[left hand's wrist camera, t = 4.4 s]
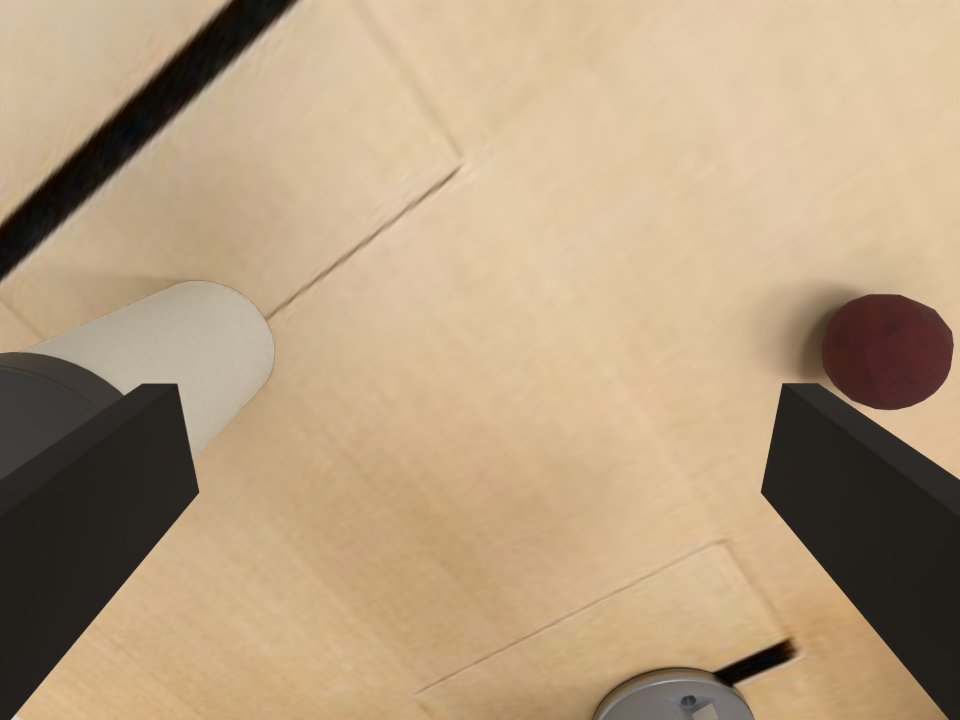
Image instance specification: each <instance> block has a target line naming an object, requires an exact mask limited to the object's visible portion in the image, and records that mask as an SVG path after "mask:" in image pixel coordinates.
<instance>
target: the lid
mask: <svg viewBox="0 0 960 720" xmlns="http://www.w3.org/2000/svg"><path fill="white" fill-rule="evenodd" d="M123 396H124V395H123V394H122V393H121V392H120V391H119V390H118V389H116V388H115V387H114V386H113V385H111V384H110V383H109V382H107V381H106V380H104V379H103V378H101V377H100V376H98V375H96V374H95V373H93V372H91V371H90V370H88V369H85V368H83V367H81V366H79V365H77V364H75V363H72V362H69V361H66V360H63V359H61V358H57V357H53V356H48V355H44V354H37V353H29V352H9V353H0V480H1V479H2V478H4V477H5V476H7V475H8V474H10V473H11V472H13V471H14V470H15V469H17V468H18V467H20V466H21V465H23V464H24V463H26V462H27V461H29V460H30V459H32V458H33V457H35V456H36V455H38V454H39V453H40V452H42V451H43V450H45V449H46V448H48V447H49V446H51V445H52V444H54V443H55V442H57V441H58V440H60V439H61V438H63V437H64V436H65V435H67V434H68V433H70V432H71V431H73V430H74V429H76V428H77V427H79V426H80V425H82V424H83V423H85V422H86V421H88V420H89V419H91V418H92V417H93V416H95V415H96V414H98V413H99V412H101V411H102V410H104V409H105V408H107V407H108V406H110V405H111V404H113V403H114V402H116V401H117V400H118V399H120V398H121V397H123Z"/></svg>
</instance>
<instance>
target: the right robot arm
mask: <svg viewBox="0 0 960 720" xmlns="http://www.w3.org/2000/svg"><path fill="white" fill-rule="evenodd" d="M593 720H755V719H754V717H753V714H752V712H751V710H750V708H749V706H748V704H747V702H746V700H745V698H744V696H743V695H742V694H741V692H740V691H739V690H738V689H737V688H736V687H735V686H733V685H732V684H731V683H730V682H728V681H726V680H725V679H723V678H721V677H719V676H717V675H714V674H711V673H708V672H704V671H700V670H693V669H666V670H660V671H655V672H651V673H647V674H644V675H641V676H638V677H636V678H634V679H632V680H630V681H628V682H626V683H624V684H622V685H621V686H619V687H618V688H617V689H615V690H614V691H613V692H612V693H610V694H609V695H608V696H607V697H606V698H605V699H604V701H603V702H602V703H601V705H600V706H599V708H598V709H597V711H596V713H595V715H594V718H593Z"/></svg>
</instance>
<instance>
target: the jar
mask: <svg viewBox="0 0 960 720" xmlns="http://www.w3.org/2000/svg"><path fill="white" fill-rule="evenodd" d="M20 352H29V353H37V354H44V355H48V356H53V357H57V358H61V359H63V360H66V361H69V362H72V363H75V364H77V365H79V366H81V367H83V368H85V369H88V370H90V371H91V372H93V373H95V374H96V375H98V376H100V377H101V378H103V379H104V380H106V381H107V382H109V383H110V384H111V385H113V386H114V387H115V388H116V389H118V390H119V391H120V392H121V393H122V394H123V395H126V394H127V393H129V392H130V391H132V390H133V389H135V388H136V387H138V386H139V385H141V384H142V383H177V384H178V389H179V394H180V399H181V404H182V409H183V414H184V419H185V424H186V429H187V434H188V439H189V444H190V449H191V454H192V459H193V460H194V459H195V458H196V457H197V456H198V455H199V454H200V453H201V451H202V450H203V449H204V448H205V447H206V446H207V445H208V444H209V443H210V442H211V441H212V440H213V439H214V438H215V436H216V435H217V434H218V433H219V432H220V431H221V430H222V429H223V428H224V427H225V426H226V425H227V424H228V423H229V422H230V420H231V419H232V418H233V417H234V416H235V415H236V414H237V413H238V412H239V411H240V410H241V409H242V408H243V407H244V405H245V404H246V403H247V402H248V401H249V400H250V399H251V398H252V397H253V396H254V395H255V394H256V393H257V392H258V391H259V389H260V388H261V387H262V386H263V385H264V384H265V382H266V381H267V379H268V377H269V375H270V373H271V371H272V368H273V364H274V356H275V349H274V341H273V337H272V334H271V331H270V329H269V326H268V324H267V322H266V321H265V319H264V317H263V316H262V314H261V313H260V312H259V310H258V309H257V308H256V307H255V306H254V305H253V304H252V303H251V302H250V301H249V300H248V299H247V298H245V297H244V296H242V295H241V294H240V293H238V292H236V291H234V290H233V289H231V288H229V287H226V286H223V285H221V284H217V283H213V282H208V281H187V282H182V283H179V284H176V285H173V286H171V287H169V288H166V289H164V290H162V291H159V292H157V293H155V294H152V295H150V296H148V297H145V298H143V299H141V300H138V301H136V302H134V303H131V304H129V305H127V306H124V307H122V308H120V309H117V310H115V311H113V312H110V313H108V314H106V315H103V316H101V317H99V318H96V319H94V320H92V321H89V322H87V323H85V324H83V325H80V326H78V327H76V328H73V329H71V330H69V331H66V332H64V333H62V334H59V335H57V336H55V337H52V338H50V339H48V340H45V341H43V342H41V343H38V344H36V345H34V346H31V347H29V348H27V349H24V350H22V351H20Z"/></svg>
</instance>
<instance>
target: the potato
mask: <svg viewBox="0 0 960 720" xmlns="http://www.w3.org/2000/svg"><path fill="white" fill-rule="evenodd" d="M953 347H954V344H953V336H952V331H951V330H950V328H949V327H948V326H947V325H946V323H945V322H944V321H943V319H942V318H941V317H940V316H939V314H938V313H937V312H936V311H935V310H934V309H932V308H930V307H928V306H926V305H923V304H921V303H919V302H917V301H914V300H911V299H909V298H906V297H904V296H901V295H892V294H869V295H866V296H863V297H861V298H858V299H855V300H852V301H850V302H848V303H847V304H846V305H844V306H843V307H842V308H841V309H840V310H838V311H837V312H836V313H835V315H834V316H833V318H832V320H831V321H830V323H829V324H828V327H827V330H826V334H825V337H824V341H823V345H822V358H823V367H824V369H825V371H826V373H827V375H828V376H829V378H830V379H831V381H832V383H833V384H834V385H835V386H836V387H837V388H838V389H839V390H840V391H841V392H842V393H844V394H845V395H846V396H847V397H848V398H850V399H851V400H852V401H855V402H858V403H860V404H863V405H866V406H869V407H871V408H874V409H881V410H897V409H901V408H906V407H910V406H913V405H915V404H917V403H919V402H922V401H924V400H925V399H927V398H928V397H929V396H931V395H932V394H934V393H935V392H936V391H937V390H938V389H939V388H940V386H941V385H942V384H943V383H944V381H945V380H946V378H947V376H948V373H949V371H950V368H951V361H952V354H953Z"/></svg>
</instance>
